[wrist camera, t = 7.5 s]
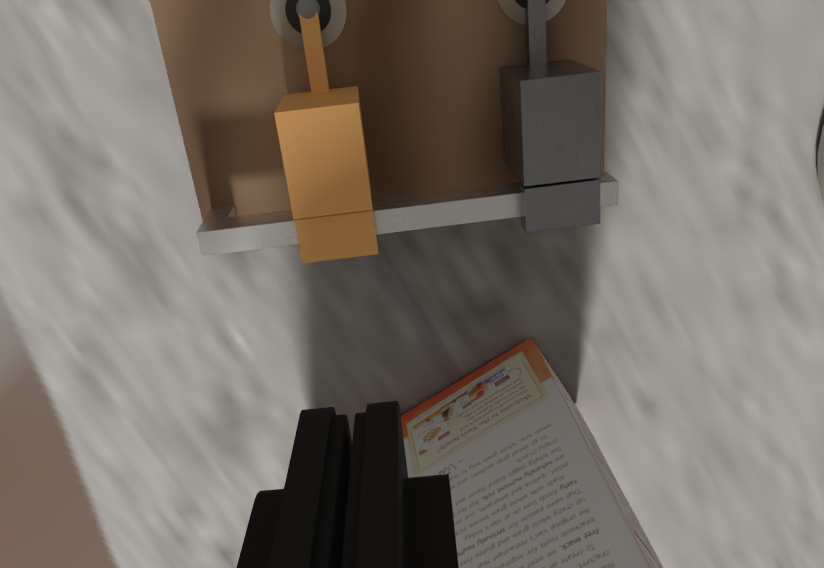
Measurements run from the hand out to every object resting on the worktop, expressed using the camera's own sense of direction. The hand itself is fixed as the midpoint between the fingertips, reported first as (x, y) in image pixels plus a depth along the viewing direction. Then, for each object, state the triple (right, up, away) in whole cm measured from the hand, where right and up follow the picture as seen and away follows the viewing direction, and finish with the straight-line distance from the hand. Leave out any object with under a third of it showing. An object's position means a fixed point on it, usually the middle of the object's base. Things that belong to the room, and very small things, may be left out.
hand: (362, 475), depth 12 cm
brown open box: (0, +12, +18) cm, 22 cm away
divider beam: (0, +11, +17) cm, 20 cm away
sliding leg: (-3, +10, +17) cm, 20 cm away
